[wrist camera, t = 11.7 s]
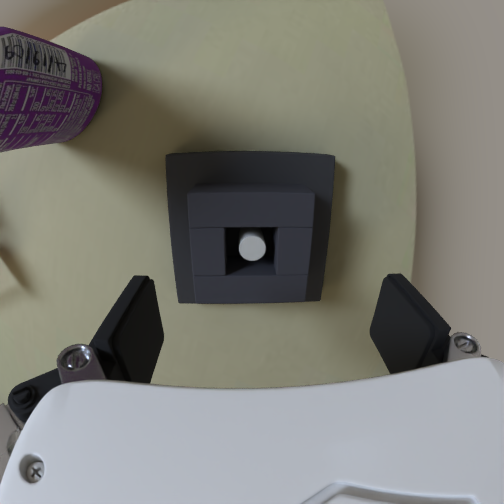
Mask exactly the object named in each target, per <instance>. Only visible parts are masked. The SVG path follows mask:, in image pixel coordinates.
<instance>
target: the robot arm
mask: <svg viewBox="0 0 504 504" xmlns="http://www.w3.org/2000/svg"><path fill="white" fill-rule="evenodd" d="M450 330H451V327H450V326H449V325H448V324H447V323H446V321H445V320H443V318H442V317H441V316H440V315H439V313H438V312H437V311H436V310H435V309H434V308H433V307H432V306H431V305H430V303H429V302H428V301H427V300H426V299H425V298H424V297H423V296H422V295H421V294H420V293H419V292H418V290H417V289H416V288H415V287H414V286H413V285H412V284H411V283H410V282H409V281H408V280H407V279H406V278H405V277H404V276H403V275H402V274H388V275H387V277H385V278H384V279H383V282H382V286H381V290H380V294H379V298H378V302H377V306H376V309H375V313H374V317H373V320H372V323H371V327H370V336H371V338H372V340H373V342H374V344H375V346H376V347H377V349H378V351H379V353H380V355H381V357H382V359H383V361H384V362H385V364H386V366H387V368H388V370H389V372H390V374H389V375H383V376H377V377H371V378H365V379H358V380H351V381H344V382H335V383H326V384H316V385H305V386H291V387H271V388H203V387H185V386H171V385H159V384H150V382H151V378H152V375H153V372H154V369H155V366H156V363H157V360H158V356H159V353H160V350H161V347H162V344H163V341H164V332H163V327H162V322H161V317H160V312H159V307H158V302H157V296H156V291H155V285H154V281H153V280H152V279H150V278H149V277H148V276H137V275H134V276H133V278H132V279H131V280H130V282H129V283H128V285H127V286H126V288H125V289H124V291H123V292H122V294H121V295H120V297H119V298H118V300H117V301H116V303H115V304H114V306H113V307H112V309H111V310H110V312H109V313H108V315H107V316H106V318H105V320H104V321H103V323H102V324H101V326H100V327H99V329H98V331H97V332H96V334H95V336H94V337H93V339H92V340H91V342H90V344H89V345H85V344H75V345H71V346H69V347H67V348H65V349H64V350H63V351H61V353H60V354H59V355H58V358H57V367H58V368H56V369H54V370H52V371H49V372H47V373H45V374H42V375H40V376H37V377H35V378H33V379H30V380H28V381H25V382H23V383H20V384H19V385H17V386H15V387H14V388H13V389H12V390H11V392H10V394H9V397H8V404H7V405H6V406H5V405H4V403H2V404H1V405H0V504H504V363H503V362H501V361H499V360H497V359H493V358H489V357H487V356H484V355H481V347H480V344H479V342H478V341H477V340H476V339H475V338H474V337H473V336H471V335H469V334H467V333H462V332H457V333H454V334H453V335H452V336H451V337H450V336H449V335H448V334H449V332H450Z"/></svg>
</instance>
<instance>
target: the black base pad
mask: <svg viewBox="0 0 504 504" xmlns="http://www.w3.org/2000/svg"><path fill="white" fill-rule="evenodd" d="M334 169H335V156H333V155H328V154H315V153H298V152H273V151H214V152H188V153H172V154H167V155H166V180H167V197H168V211H169V224H170V235H171V246H172V255H173V264H174V273H175V281H176V288H177V296H178V302H179V303H196V301H195V291H194V281H193V271H192V259H191V246H190V233H189V229H190V228H189V218H188V199H187V194H188V192H189V191H190V190H191V189H192V188H193V187H194V186H195V185H196V184H302V185H305V186H306V187H307V188H309V189H310V190H311V191H313V192H314V193H315V207H314V220H313V227H312V228H313V233H312V244H311V254H310V264H309V273H308V282H307V290H306V299H305V302H309V301H320V300H321V293H322V286H323V279H324V272H325V264H326V256H327V248H328V239H329V230H330V220H331V209H332V197H333V184H334ZM271 243H272V227H227V256H242V257H243V258H245V259H246V260H249V261H255V260H258V259H260V258H261V257H262V256H271Z"/></svg>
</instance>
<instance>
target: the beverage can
mask: <svg viewBox="0 0 504 504" xmlns="http://www.w3.org/2000/svg"><path fill="white" fill-rule="evenodd" d="M101 93H102V78H101V73H100V70H99V68H98V66H97V65H96V63H95V62H94V61H93V60H92V59H90V58H89V57H87V56H84V55H82V54H80V53H77V52H75V51H72V50H70V49H68V48H65V47H63V46H60V45H57V44H55V43H52V42H49V41H47V40H44V39H41V38H38V37H35V36H33V35H30V34H27V33H24V32H20V31H17V30H14V29H10V28H6V27H0V152H4V151H9V150H15V149H20V148H26V147H32V146H39V145H46V144H53V143H61V142H65V141H68V140H70V139H72V138H74V137H76V136H77V135H78V134H80V133H81V132H82V131H83V130H84V129H85V128H86V126H87V125H88V124H89V123H90V121H91V120H92V118H93V116H94V114H95V112H96V110H97V108H98V105H99V102H100V98H101Z"/></svg>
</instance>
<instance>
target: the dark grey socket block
mask: <svg viewBox="0 0 504 504" xmlns="http://www.w3.org/2000/svg"><path fill="white" fill-rule="evenodd" d="M187 199H188V218H189V228H190V229H189V233H190V246H191V259H192V271H193V281H194V291H195V301H196V303H197V304H240V303H285V302H305V299H306V290H307V282H308V273H309V264H310V254H311V244H312V233H313V228H312V227H313V220H314V207H315V193H314V192H313V191H311V190H310V189H309V188H307V187H306V186H305V185H302V184H196V185H195V186H194V187H193V188H192V189H191V190H190V191H189V192H188V194H187ZM227 227H272V243H271V256H262V257H261V258H260V259H258V260H255V261H249V260H246V259H245V258H243V257H242V256H227Z"/></svg>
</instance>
